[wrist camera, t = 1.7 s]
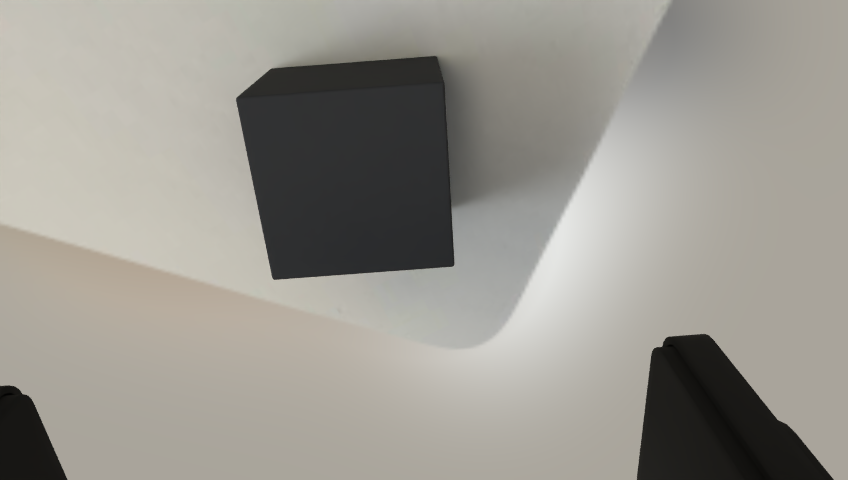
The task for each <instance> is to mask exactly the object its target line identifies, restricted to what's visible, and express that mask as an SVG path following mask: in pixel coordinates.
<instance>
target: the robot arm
mask: <svg viewBox="0 0 848 480" xmlns="http://www.w3.org/2000/svg"><path fill="white" fill-rule="evenodd" d="M0 480H67V478H66V476H65V473H64V471H63V469H62V467H61V464H60V462H59V460H58V457H57V455H56V453H55V451H54V448H53V446H52V444H51V441H50V439H49V437H48V435H47V432H46V430H45V428H44V426H43V423H42V421H41V419H40V417H39V414H38V412H37V410H36V407H35V405H34V403H33V401H32V399H31V398H30V397H29V396H27V395H23V394H22V393H21V391H20V390H19V389H18V388H16V387H14V386H0ZM637 480H833V478H832V477H831V476H830V475H829V473H828V472H827V471H826V470H825V468H824V467H823V466H822V465H821V464H820V462H819V461H818V460H817V459H816V457H815V456H814V455H813V454H812V453H811V451H810V450H809V449H808V448H807V446H806V445H805V444H804V443H803V442H802V440H801V439H800V438H799V437H798V435H797V434H796V433H795V432H794V431H793V430H792V429H791V428H790V427H789V426H788V425H787V424H785V423H783V422H781V421H778V420H777V419H776V417H775V416H774V415H773V414H772V413H771V411H770V410H769V409H768V407H767V406H766V405H765V404H764V403H763V401H762V400H761V399H760V398H759V396H758V395H757V394H756V392H755V391H754V390H753V389H752V387H751V386H750V385H749V384H748V382H747V381H746V380H745V379H744V377H743V376H742V375H741V374H740V373H739V371H738V370H737V369H736V368H735V366H734V365H733V364H732V363H731V361H730V360H729V359H728V357H727V356H726V355H725V354H724V353H723V351H722V350H721V349H720V348H719V346H718V345H717V344H716V343H715V341H714V340H713V339H712V338H711V337H710V336H709V335H706V334H700V335H686V336H673V337H667V338H666V339H665V341H664V342H663V346H662V347H657V348H654V349H653V351H652V356H651V363H650V371H649V380H648V388H647V397H646V405H645V415H644V422H643V432H642V440H641V448H640V456H639V466H638V474H637Z"/></svg>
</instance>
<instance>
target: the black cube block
mask: <svg viewBox="0 0 848 480" xmlns="http://www.w3.org/2000/svg"><path fill="white" fill-rule="evenodd" d="M236 102H237V107H238V111H239V116H240V121H241V126H242V131H243V136H244V141H245V146H246V151H247V156H248V161H249V165H250V170H251V175H252V180H253V185H254V190H255V195H256V200H257V205H258V210H259V215H260V219H261V224H262V229H263V234H264V239H265V244H266V249H267V254H268V259H269V264H270V269H271V273H272V278H273V279H274V280H277V279H290V278H304V277H317V276H331V275H345V274H358V273H372V272H386V271H399V270H413V269H426V268H440V267H452V266H454V248H453V230H452V212H451V194H450V176H449V158H448V140H447V122H446V104H445V86H444V81H443V77H442V74H441V70H440V66H439V63H438V59H437V57H436V56H431V57H418V58H405V59H392V60H379V61H366V62H353V63H340V64H327V65H314V66H301V67H288V68H274V69H270V70H269V71H268V72H267V73H265V74H264V75H263V76H262V77H261V78H260V79H258V80H257V81H256V82H255V83H254V84H252V85H251V86H250V87H249V88H248V89H246V90H245V91H244V92H243V93H242V94H241V95H239V96H238V97H237V98H236Z"/></svg>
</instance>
